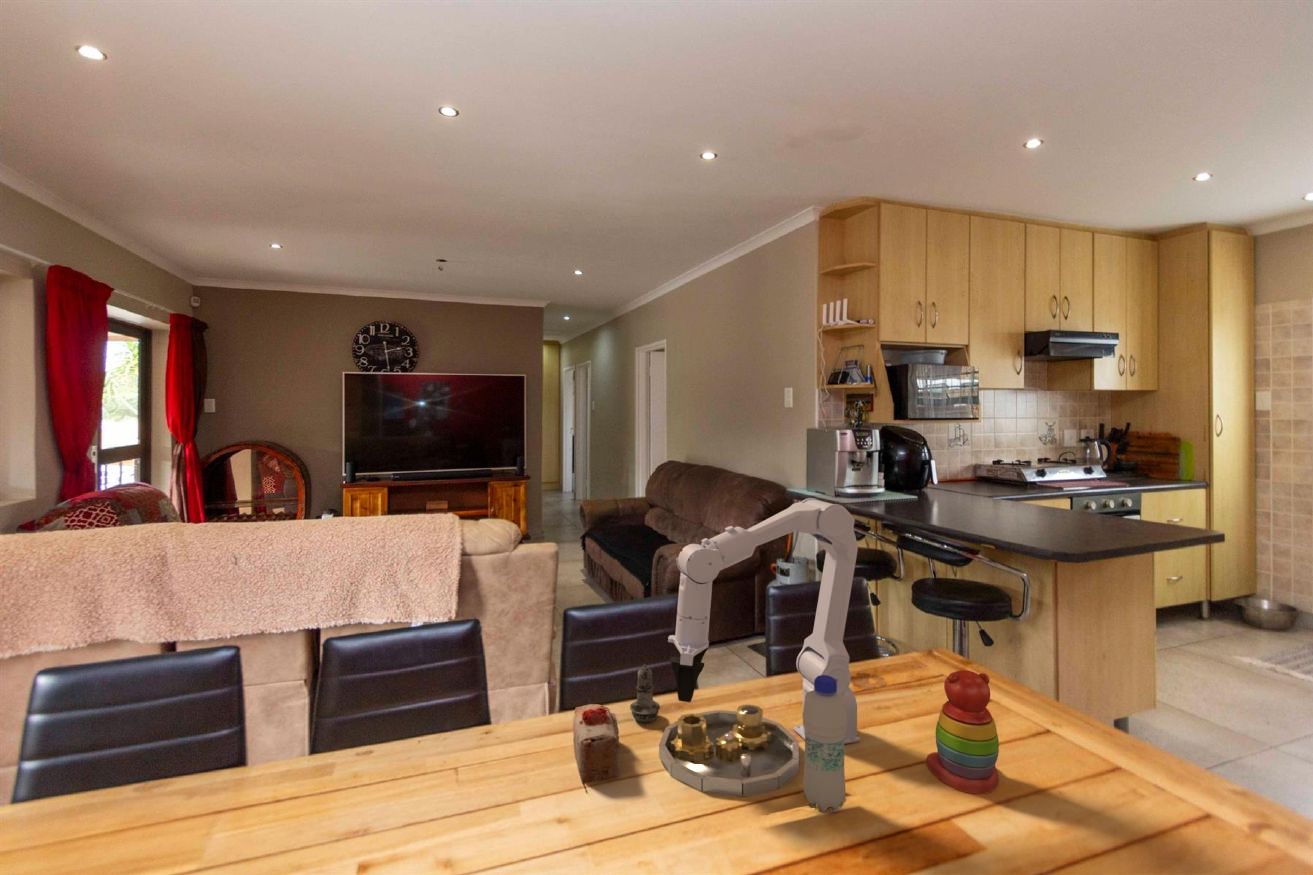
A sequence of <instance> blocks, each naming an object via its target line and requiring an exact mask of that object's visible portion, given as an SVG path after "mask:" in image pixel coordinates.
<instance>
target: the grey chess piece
mask: <svg viewBox="0 0 1313 875" xmlns="http://www.w3.org/2000/svg"><path fill="white" fill-rule="evenodd" d="M654 688H655V686H654V685H653V671H652V669H650V668H648V667H647V664H645V663H643V665H642V667H641V668H639V669H638V671H637V685H635V690H636V691H637V694H636V696H637V697H636V701H633V702H632V703H631V704H630V705H629V709H630V711H631V715H632V716H633V719H634V720H636V721H637V722H639V723H650V722H653V721H654V720H656V718H657V717H658V714H659V710H660V709H661V705H660V703H658V702H657V701H655V700H654V698H653V690H654Z"/></svg>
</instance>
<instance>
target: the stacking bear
mask: <svg viewBox="0 0 1313 875" xmlns="http://www.w3.org/2000/svg"><path fill="white" fill-rule="evenodd" d="M989 683H990V677H989V675H988V674H986V673H984V672H981V673H979V674H978V673H976V672H974V671H971V670H966V669H965V670H956V671H953V672H951V673H949V674H948V676H947V677H946V678H945V680H944V683H943V687H944V692H945V695H946V697H947V701H946V702H944V703H943V705H942V709H941V710H940V713H939V715H938V720H937V722H936V727H935V744H936V748H937V751H934V752H933V751H932V752H930V753H928V755H927V756H926V758H925V764H926V766H927V768H928V769H929V770H930V772H931V773H932V775H934V776H935V778H937V779H938V780H940V781H941V782H943V783H944V784H946V785H947V786H949V787H950V788H953V789H955V790H958V791H960V792H965V793H969V794H976V795H977V794H979V795H980V794H981V795H982V794H987V793H991V792H993V791H995V789H997V787H998V785H999V772H998V768H997V767H996V763H997V761H998V758H999V753H1000V748H999V747H1000V741H999V735H998V731H997V725H996V721H995V718H993V716H992V714H991V712H990V711H989V709H988V708H987V706H988V705H989V702H990V699H991V689H990V686H989Z"/></svg>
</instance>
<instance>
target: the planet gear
mask: <svg viewBox="0 0 1313 875" xmlns="http://www.w3.org/2000/svg"><path fill="white" fill-rule="evenodd" d="M677 721H678V735H677V736H676V738H675V739H674V740H673V741H671V750H673V751H674V753H675V757H677V758H682V759H686V760H689V761H695V760H700V759H707V758H709V754H710V753H711V752H713V742H710V740H709V737H708V736H706V720H705V719H704V717H703V716H701V715H697V713H688V714H681V716H680V717H678V719H677Z"/></svg>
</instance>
